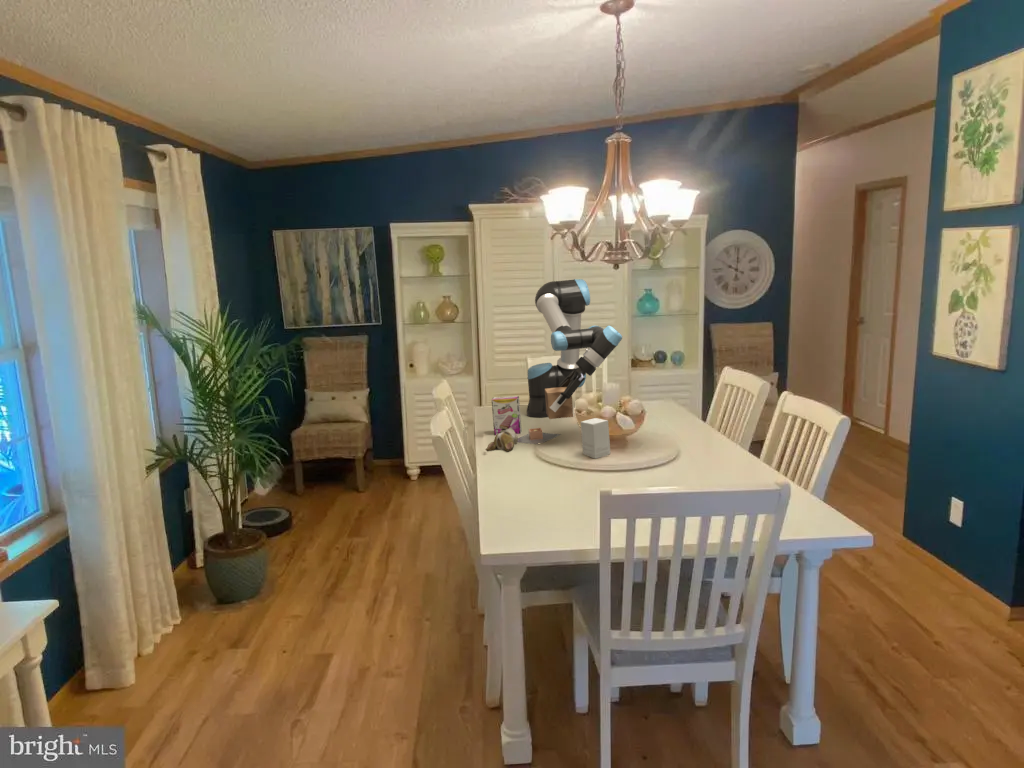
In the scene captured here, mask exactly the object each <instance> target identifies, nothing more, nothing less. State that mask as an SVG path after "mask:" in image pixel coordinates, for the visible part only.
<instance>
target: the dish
mask: <svg viewBox="0 0 1024 768" xmlns="http://www.w3.org/2000/svg"><path fill="white" fill-rule="evenodd" d="M534 430H537V431H534ZM542 433H543V429H542V428H541V427H536V428H534V427H533V428H528V434H529V438H530V440H535V439H543V434H542Z"/></svg>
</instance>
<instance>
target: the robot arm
mask: <svg viewBox="0 0 1024 768" xmlns="http://www.w3.org/2000/svg"><path fill="white" fill-rule="evenodd" d="M534 303H535V307H536V309H537V311H538V312H539V313H540V314H542V315H543V317H544V319H545V322H546V323H547V325H548V328H549V329H550V331H551V334H550V344H551V347H552V350H553V351H554V352H560V357H559V358H558V359H557V361H556V365H555V364H554V365H553V364H552V363H551V362H543V363H538V364H534V365H532V366H530V367H529V368H528V370H527V384H528V394H529V395H528V396H529V399H528V403H527V408H526V415H527V416H528V417H530V418H544V417H545V418H546V417H548V416H547V413H546V399H545V389H547V388H557V387H567V388H566V389H565V391H564V392H563V393H562V392H561V393H560V394H561V395H560V396H559V397H558V398H557V399H556V401H555V402H554V403H553V404H552V405H551V406H550V409H552V410H553V411H554V412H556V411H557V410H558V409H559V407H560V406H561V405H562V404H563V403H564V402H565V400H566V399H569V398H570V397H571V396H572V397H573V394H574V393H575V392H576V391H577V389H579V388H581V387H583V386H584V385H585V382H586V379H587V375H588V376H590V377H591V376H592V375H593V374H594V372H595V371H596V370H597V368H599V367H600V366H601V365H602V363H603V362H605V360H606V358H608V357H609V355H610V354H611V353H612V352H613V351H614V349H616V347H617V346H619V344H620V342H621V341H622V339H623V336H622V334H621V333H620V332H619V331H618V330H616V329H615V328H614V327H613V326H611V325H607V326H606V327H605V328H604V327H601V326H599V325H591V326H590V327H587V328H581V327H582V325H581V324H582V314H584V312H585V311H586V306H587V307H588V306H589V305H590V303H591V293H590V288H589V286H588V284H587V282H586V281H585V280H584V279H583V278H580V279H576V278H573V279H566V280H556V281H555V280H553V281H548V282H546V283H545V284H543V285H542V286H540V288H538V290H537V292H536V294H535V298H534ZM580 349H585V352H584V353H583V354H582V356H580V352H581V351H580ZM548 418H549V417H548Z"/></svg>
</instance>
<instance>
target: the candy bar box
mask: <svg viewBox="0 0 1024 768" xmlns="http://www.w3.org/2000/svg"><path fill="white" fill-rule="evenodd" d="M520 406H521V405H520V396H519V395H513V396H512V395H511V396H495V397H492V398H491V408H492V409H491V410H492V422H493V433H494V436H496V435H497V434H498V433H500V431H501V430H502V429H509V428H510V427H511V428H512V429H513V430H514V432H515V433H516V435H521V434H522V420H521V419H522V418H521V407H520Z"/></svg>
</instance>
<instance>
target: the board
mask: <svg viewBox="0 0 1024 768" xmlns="http://www.w3.org/2000/svg"><path fill="white" fill-rule="evenodd" d="M542 434H543V439H535V440H530V438H529V433H527V434H524V435H522V436H519V437H518V442H517V443H518V444H519V443H522V444H530V445H532V444H533V445H539V444H538V443H542V444H543V443H546V442H549V441H550V440H552V439H555V438H557V437H559V436H561V435H562V434H561V433H560V434H559V433H550V432H542Z"/></svg>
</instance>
